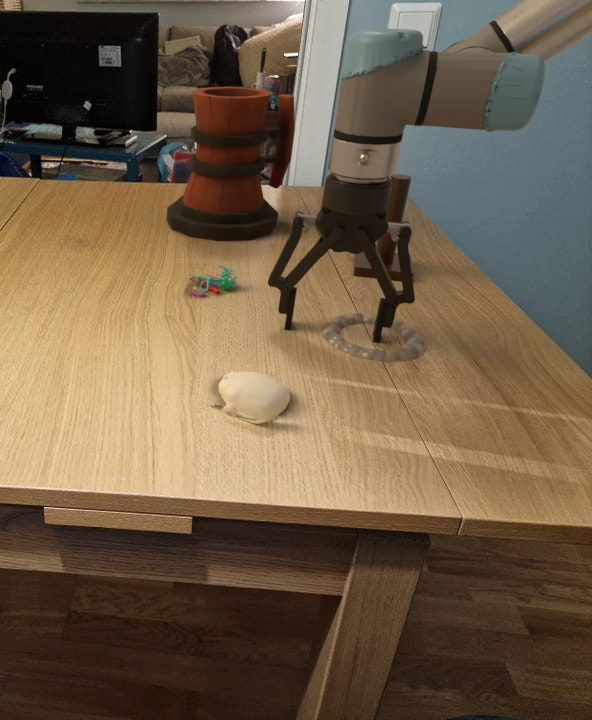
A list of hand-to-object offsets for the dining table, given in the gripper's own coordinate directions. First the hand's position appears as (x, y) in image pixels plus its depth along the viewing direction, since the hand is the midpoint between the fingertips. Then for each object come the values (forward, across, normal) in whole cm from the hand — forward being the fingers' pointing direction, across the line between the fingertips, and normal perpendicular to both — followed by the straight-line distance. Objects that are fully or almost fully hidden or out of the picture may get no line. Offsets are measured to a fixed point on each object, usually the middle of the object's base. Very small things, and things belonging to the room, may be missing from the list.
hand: (329, 341), depth 89 cm
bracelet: (-1, +5, 0) cm, 5 cm away
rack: (0, +7, +30) cm, 31 cm away
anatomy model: (0, -19, +10) cm, 21 cm away
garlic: (0, -8, -19) cm, 21 cm away
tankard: (0, -22, +47) cm, 52 cm away
